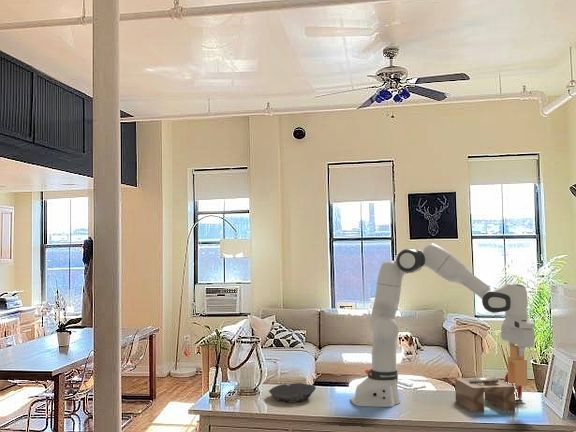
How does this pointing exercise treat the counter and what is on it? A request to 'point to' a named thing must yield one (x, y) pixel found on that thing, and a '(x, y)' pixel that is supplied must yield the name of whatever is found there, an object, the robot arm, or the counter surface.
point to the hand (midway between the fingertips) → (517, 354)
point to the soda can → (519, 388)
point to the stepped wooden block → (517, 367)
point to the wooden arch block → (484, 393)
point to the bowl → (292, 392)
